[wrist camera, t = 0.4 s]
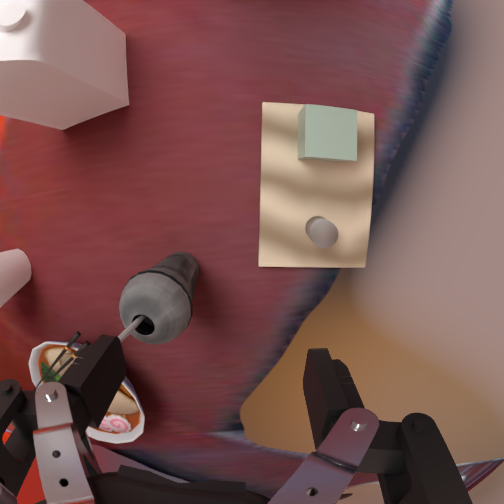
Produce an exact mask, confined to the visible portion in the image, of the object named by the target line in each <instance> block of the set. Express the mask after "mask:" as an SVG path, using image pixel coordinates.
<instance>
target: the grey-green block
mask: <svg viewBox="0 0 504 504" xmlns="http://www.w3.org/2000/svg"><path fill="white" fill-rule="evenodd" d="M297 159H307V160H321V161H333V162H352V161H357V110H352V109H345V108H338V107H330V106H321V105H311V104H305V105H304V106H303V108H302V109H301V110H300V112H299V113H298V150H297Z"/></svg>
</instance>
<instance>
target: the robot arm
mask: <svg viewBox="0 0 504 504" xmlns="http://www.w3.org/2000/svg"><path fill="white" fill-rule="evenodd" d="M125 376H126V363H125V359H124V355H123V350H122V346H121V342H120V339H119V338H118V337H114V336H107V335H101V336H100V337H99V339H98V340H97V341H96V342H95V344H91V345H89V346H88V347H86V348H84V349H83V350H82V351H81V352H80V354H79V355H78V356H77V358H76V359H75V360H74V361H73V364H71V365H70V366H69V367H68V369H67V370H66V371H65V372H64V374H63V375H62V376H61V378H60V379H59V380H58V382H48V383H45V384H43V385H41V386H40V387H39V388H38V389H37V390H36V391H24V390H22V388H21V386H20V384H19V382H18V381H16V380H13V379H7V380H4V381H2V382H0V504H17V500H16V497H17V495H18V493H19V490H20V488H21V486H22V484H23V481H24V479H25V477H26V475H27V472H28V471H29V468H30V467H31V464H32V462H33V460H34V458H35V456H36V457H37V462H38V468H39V472H40V477H41V482H42V486H43V490H44V494H45V498H46V499H45V500H43V501H40V502H38V503H35V504H336V503H337V501H338V500H339V498H340V497H341V495H342V493H343V492H344V490H345V489H346V487H347V485H348V484H349V482H350V481H351V479H352V477H353V475H354V474H355V472H365V473H377V475H378V479H379V483H380V487H381V491H382V495H383V499H384V503H385V504H472V501H471V499H470V497H469V494H468V492H467V489H466V487H465V484H464V482H463V480H462V478H461V475H460V473H459V471H458V469H457V466H456V464H455V462H454V460H453V458H452V456H451V454H450V451H449V450H448V447H447V445H446V443H445V441H444V439H443V437H442V435H441V433H440V431H439V429H438V427H437V425H436V423H435V422H434V420H433V419H432V418H431V417H429V416H428V415H426V414H422V413H411V414H409V415H407V416H406V417H405V418H404V419H403V420H402V422H387V421H381V420H378V418H377V416H376V415H375V414H374V413H373V412H371V411H370V410H367V409H365V408H364V405H363V403H362V400H361V398H360V396H359V393H358V391H357V389H356V386H355V384H354V382H353V379H352V377H351V375H350V372H349V370H348V368H347V366H346V365H345V364H344V363H343V362H341V361H340V360H339V359H338V360H337V359H336V360H332V359H331V357H330V354H329V351H328V349H327V348H319V349H309V350H308V353H307V359H306V366H305V371H304V377H303V389H304V395H305V400H306V405H307V409H308V414H309V419H310V424H311V429H312V433H313V439H314V443H315V449H316V452H312V453H310V454H309V456H308V457H307V458H306V459H305V460H304V462H303V463H302V464H301V465H300V467H299V468H298V469H297V470H296V472H295V473H294V474H293V475H292V476H291V478H290V479H289V480H288V481H287V482H286V483H285V484H284V486H283V487H282V488H281V489H280V490H279V491H278V492H277V493H276V495H275V496H274V497H273V498H272V499H270V498H269V497H267V496H264V495H262V494H260V493H257V492H254V491H250V490H246V489H245V485H246V482H230V481H215V480H211V481H202V482H190V483H177V482H174V481H171V480H169V479H166V478H164V477H161V476H159V475H157V474H154V473H152V472H150V471H146V470H141V469H137V468H132V467H128V466H124V465H120V468H119V470H118V472H107V473H102V471H101V469H100V467H99V465H98V462H97V460H96V457H95V454H94V452H93V449H92V446H91V443H90V440H89V437H88V434H87V432H86V430H87V428H88V426H89V427H93V428H96V429H98V428H99V426H100V424H101V422H102V420H103V419H104V417H105V415H106V413H107V411H108V409H109V407H110V405H111V403H112V401H113V399H114V397H115V395H116V393H117V392H118V390H119V388H120V386H121V384H122V382H123V380H124V378H125ZM10 423H12V424H13V426H14V427H15V429H14V430H13V432H12V433H11V435H10V437H9V438H8V440H7V442H6V444H5V445H4V444H3V441H2V436H3V434H4V432H5V430H6V429H7V427H8V426H9V424H10Z"/></svg>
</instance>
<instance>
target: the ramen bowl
mask: <svg viewBox="0 0 504 504" xmlns="http://www.w3.org/2000/svg"><path fill="white" fill-rule="evenodd" d="M80 335H81V334H80V333H79V332H77V333H76V334H75V335H74V336H73V338H72V339H71V340H70V341H69V342H59V341H49V342H44V343H42V344H41V345H39V346H37V347H35V348H33V349H32V353H31V356H30V360H29V368H30V373H31V378H32V381H33V383H34V385H35V389H38V388H39V387H40V386H41V385H43V384H45V383H48V382H58V380H59V379H60V378H61V376H62V375H63V374H64V372H65V371H66V370H67V369H68V367H69V366H70V365H71V364H73V361H74V360H75V359H76V358H77V356H78V355H79V354H80V352H81V351H82V350H83V349H84V348H86V347H88V346H89V345H90V343H89V342H88V341H86V342H85V343H84V344H83V345H82V344H79V343H74V342H75V341H76V340H77V339H78V337H79V336H80ZM35 389H34V390H35ZM34 390H33V391H34ZM144 421H145V416H144V411H143V408H142V406H141V404H140V401H139V399H138V397H137V394H136V392H135V390H134V387H133V385H132V384H131V382H130V381H129V379H128V378H127V377H126V376H125V378H124V380H123V382H122V384H121V386H120V388H119V390H118V392H117V393H116V395H115V397H114V399H113V401H112V403H111V405H110V407H109V409H108V411H107V413H106V415H105V417H104V419H103V420H102V422H101V424H100V426H99V428H98V429H96V428H93V427H89V426H88V428H87V430H86V432H87V434H88V436H90V437H92V438H94V439H96V440H100V441H105V442H110V443H115V444H118V443H126V442H133V441H134V440H135V439H137V438H138V437H139V436H140V435H141V434H142V433H143V429H144Z"/></svg>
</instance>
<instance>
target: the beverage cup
mask: <svg viewBox="0 0 504 504" xmlns="http://www.w3.org/2000/svg"><path fill="white" fill-rule="evenodd" d="M198 273H199V266H198V263H197V261H196V259H195V258H194V257H193V256H192V255H190V254H188V253H186V252H177V253H174V254H173V255H170V256H169V257H167V258H166V259H164V260H163V261H161V262H160V263H158V264H157V265H155V266H154V267H152V268H151V269H148V270H145V271H142V272H139V273H137V274H136V275H134V276H133V277H131V278H130V280H129V281H128V282H127V284H126V285H125V288H124V290H123V292H122V295H121V299H120V304H119V309H120V317H121V320H122V322H123V324H124V326H125V328H126V329H125V330H124V331H123V332H122V333H121V334H120V335H119V336H118V338H119V339H120V342H122V341H123V340H124V339H125V338H126V337H127V336H128V335H129V334H131V335H132V336H134V337H135V338H136V339H138V340H140V341H142V342H144V343H148V344H162V343H167V342H169V341H171V340H173V339H175V338H177V337H178V336H179V335H180V333H181V332H183V330H184V329H185V328H186V327H187V326H188V325H189V323H190V320H191V318H192V299H193V295H194V291H195V287H196V283H197V279H198Z"/></svg>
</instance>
